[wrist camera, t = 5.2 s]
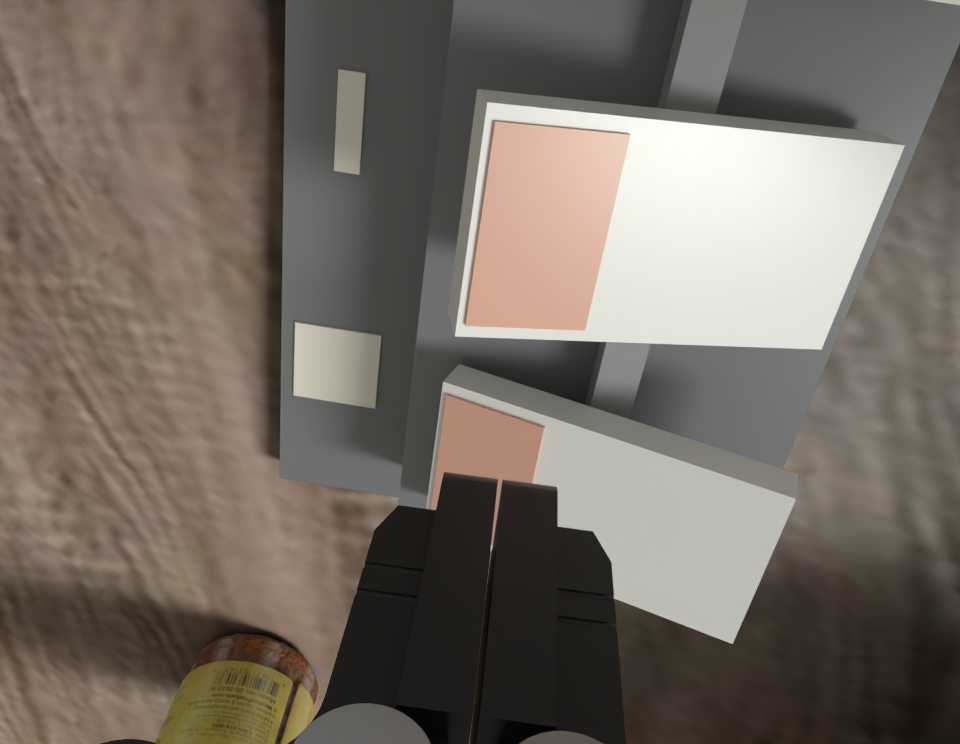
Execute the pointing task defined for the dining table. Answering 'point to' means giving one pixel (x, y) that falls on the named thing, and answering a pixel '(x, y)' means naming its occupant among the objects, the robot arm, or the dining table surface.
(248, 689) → the sauce bottle
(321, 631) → the dining table surface
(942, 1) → the switch
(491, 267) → the switch
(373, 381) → the switch box
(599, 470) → the switch
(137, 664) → the dining table surface
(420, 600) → the robot arm
